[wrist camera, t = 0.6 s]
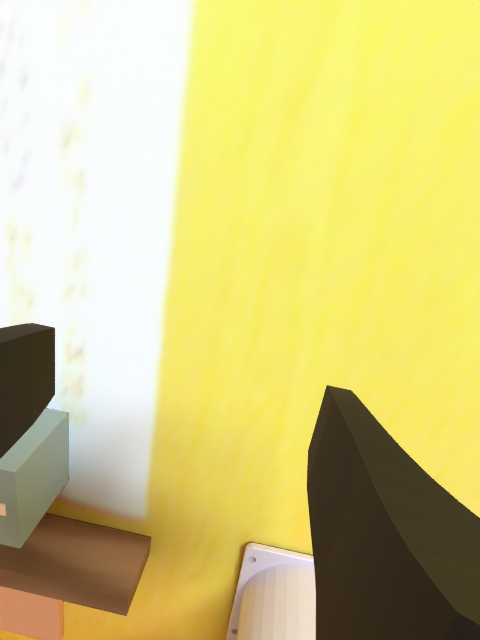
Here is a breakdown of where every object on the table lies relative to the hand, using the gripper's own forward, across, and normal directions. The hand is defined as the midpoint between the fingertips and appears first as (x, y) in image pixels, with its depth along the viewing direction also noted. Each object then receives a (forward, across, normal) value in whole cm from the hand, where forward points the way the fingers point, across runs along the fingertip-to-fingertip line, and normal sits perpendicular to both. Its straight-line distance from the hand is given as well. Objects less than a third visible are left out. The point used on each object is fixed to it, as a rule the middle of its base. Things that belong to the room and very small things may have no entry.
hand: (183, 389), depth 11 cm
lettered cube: (+10, +11, +12) cm, 19 cm away
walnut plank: (+10, +12, +18) cm, 24 cm away
